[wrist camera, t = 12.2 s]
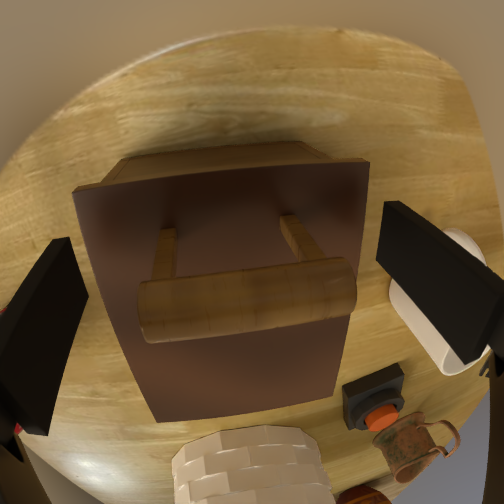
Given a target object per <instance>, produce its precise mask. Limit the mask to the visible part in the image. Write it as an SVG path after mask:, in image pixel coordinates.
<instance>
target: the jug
mask: <svg viewBox="0 0 504 504" xmlns="http://www.w3.org/2000/svg"><path fill="white" fill-rule="evenodd" d="M336 504H392V503H391V502H390V501H389V500H388V498H387V497H386V496H385V495H384V494H382V493H381V492H380V491H377V490H375V489H373V488H371V487H369V486H366V485H360V486H357V487H354V488H351V489H349V490H347V491H345V492H343V493H341V494H340V496H339V498H338V500H337V502H336Z"/></svg>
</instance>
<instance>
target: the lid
mask: <svg viewBox="0 0 504 504" xmlns="http://www.w3.org/2000/svg"><path fill="white" fill-rule="evenodd" d="M369 169H370V162H368V161H366V160H364V159H362V158H336V159H307V160H288V161H271V162H257V163H245V164H233V165H223V166H213V167H204V168H195V169H186V170H178V171H170V172H163V173H156V174H149V175H142V176H135V177H129V178H123V179H117V180H111V181H105V182H100V183H94V184H89V185H84V186H78V187H77V188H76V189H75V190H74V191H73V192H72V197H73V201H74V205H75V209H76V213H77V217H78V221H79V225H80V229H81V232H82V236H83V240H84V243H85V247H86V250H87V253H88V257H89V260H90V263H91V266H92V270H93V273H94V276H95V279H96V282H97V285H98V288H99V291H100V293H101V296H102V299H103V302H104V305H105V307H106V310H107V313H108V316H109V318H110V321H111V323H112V326H113V328H114V331H115V333H116V336H117V338H118V341H119V343H120V346H121V348H122V350H123V353H124V355H125V357H126V360H127V362H128V364H129V366H130V369H131V371H132V373H133V375H134V377H135V380H136V382H137V384H138V386H139V388H140V390H141V392H142V394H143V396H144V398H145V400H146V402H147V404H148V406H149V408H150V410H151V412H152V414H153V416H154V418H155V420H156V422H157V423H162V422H177V421H189V420H200V419H209V418H218V417H226V416H233V415H240V414H247V413H253V412H259V411H265V410H270V409H276V408H281V407H286V406H291V405H296V404H301V403H305V402H310V401H314V400H318V399H323V398H327V397H331V396H333V392H334V388H335V384H336V380H337V376H338V371H339V367H340V363H341V358H342V354H343V349H344V344H345V340H346V335H347V330H348V325H349V320H350V314H351V313H352V312H353V310H354V309H355V306H356V301H357V285H356V280H357V274H358V267H359V260H360V253H361V246H362V238H363V230H364V222H365V213H366V203H367V193H368V182H369Z"/></svg>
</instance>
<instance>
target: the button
mask: <svg viewBox="0 0 504 504" xmlns="http://www.w3.org/2000/svg"><path fill="white" fill-rule="evenodd" d="M398 416H399V414H398V412H397V410H396V408H395V406H394V405H393V404H388V405H384V406H382V407H380V408H378V409H376V410H375V411H373V412H372V413H370V414H369V415H368V416H367V417H366V418H365V422H366V424H367V426H368V429H369V430H370V431H372V432H375V431H379V430H382V429H384V428H386V427H388V426H389V425H391V424H392V423H393V422H394V421H396V419H397V418H398Z"/></svg>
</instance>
